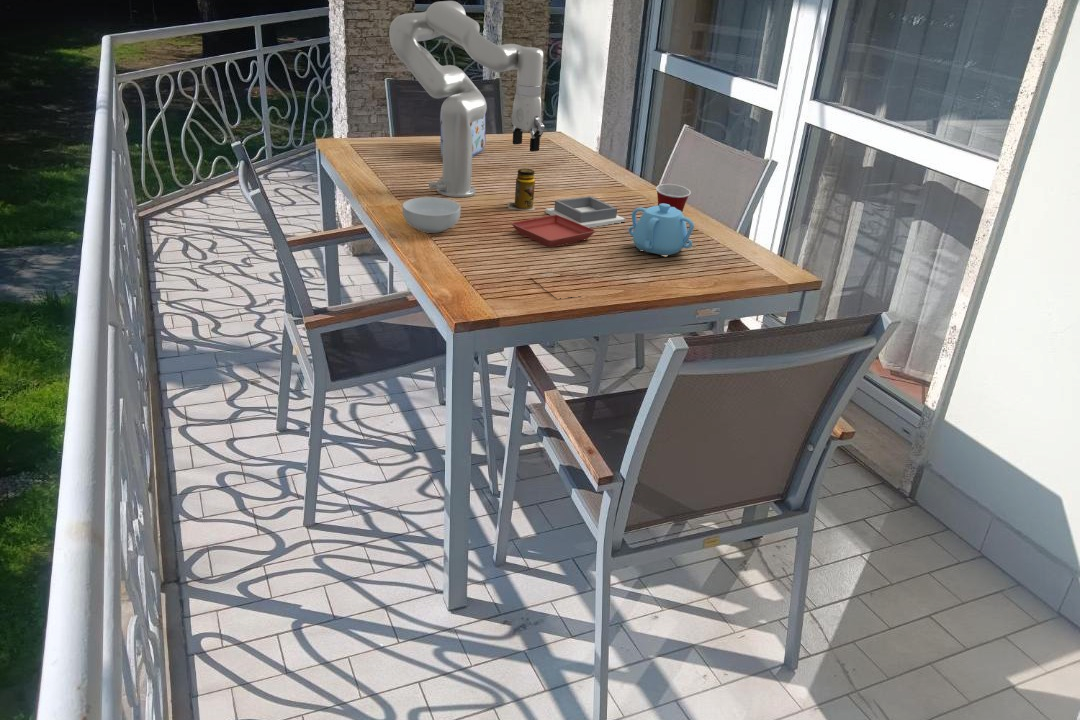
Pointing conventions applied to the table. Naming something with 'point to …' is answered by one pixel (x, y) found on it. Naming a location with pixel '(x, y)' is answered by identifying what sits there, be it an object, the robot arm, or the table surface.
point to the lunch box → (477, 135)
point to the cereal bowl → (431, 213)
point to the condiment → (524, 190)
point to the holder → (586, 211)
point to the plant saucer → (553, 230)
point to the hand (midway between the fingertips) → (525, 147)
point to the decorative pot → (661, 230)
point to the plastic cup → (672, 195)
